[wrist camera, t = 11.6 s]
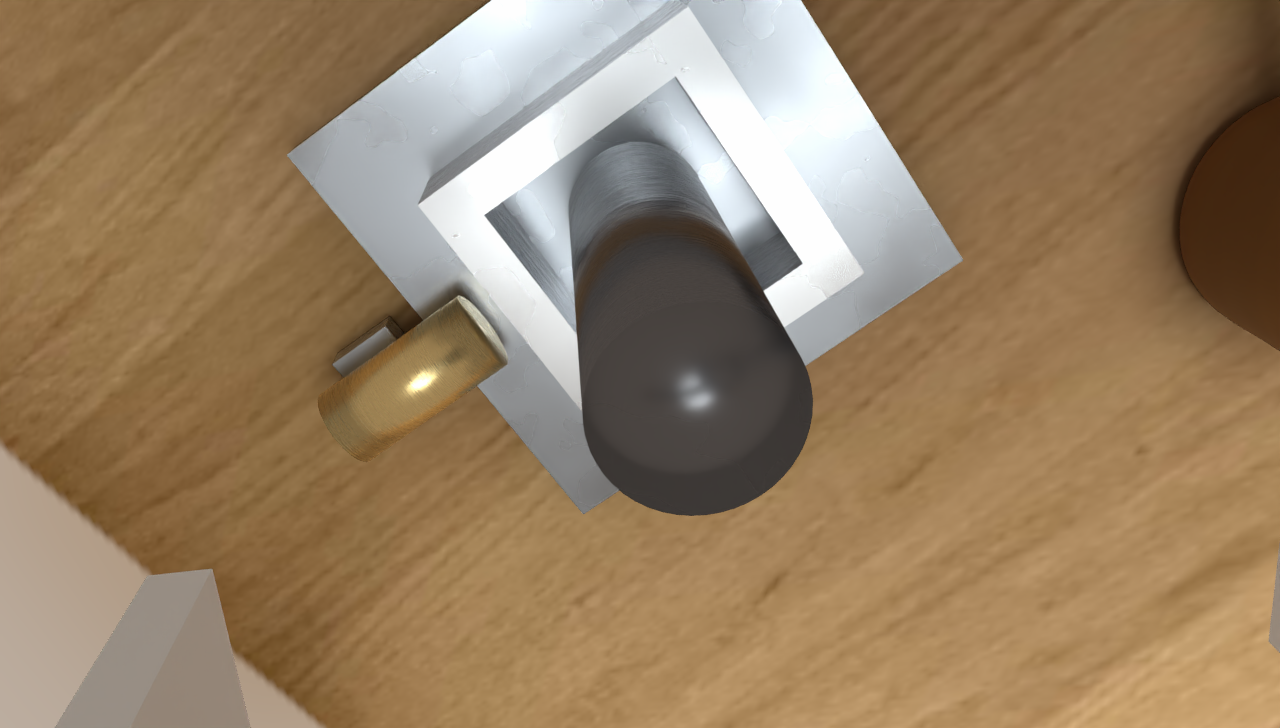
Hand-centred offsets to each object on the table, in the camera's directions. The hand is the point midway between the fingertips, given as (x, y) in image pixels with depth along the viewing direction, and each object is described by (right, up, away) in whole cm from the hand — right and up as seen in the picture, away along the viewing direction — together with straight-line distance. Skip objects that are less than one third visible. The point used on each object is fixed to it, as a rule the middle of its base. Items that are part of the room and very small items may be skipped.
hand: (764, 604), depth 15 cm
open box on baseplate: (-3, +7, +21) cm, 23 cm away
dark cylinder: (-2, +7, +20) cm, 22 cm away
